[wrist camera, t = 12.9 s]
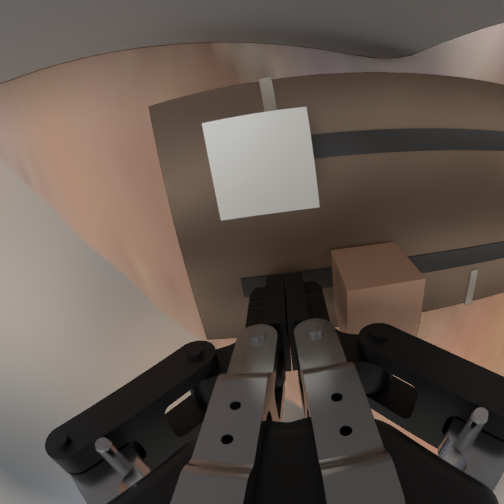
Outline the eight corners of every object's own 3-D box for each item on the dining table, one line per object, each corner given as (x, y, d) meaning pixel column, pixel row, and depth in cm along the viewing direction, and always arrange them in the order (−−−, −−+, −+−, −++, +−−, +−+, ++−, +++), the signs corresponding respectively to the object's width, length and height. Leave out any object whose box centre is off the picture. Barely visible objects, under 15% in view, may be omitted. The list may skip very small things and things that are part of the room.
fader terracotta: (330, 249, 13) (347, 290, 10) (394, 241, 13) (425, 278, 10) (333, 306, 14) (346, 355, 11) (391, 297, 14) (415, 342, 11)
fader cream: (221, 123, 11) (201, 123, 8) (297, 111, 11) (306, 106, 8) (234, 194, 13) (220, 220, 9) (307, 184, 12) (319, 207, 9)
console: (176, 107, 15) (147, 104, 11) (494, 90, 13) (535, 90, 9) (219, 301, 20) (207, 342, 16) (491, 261, 17) (522, 289, 13)
